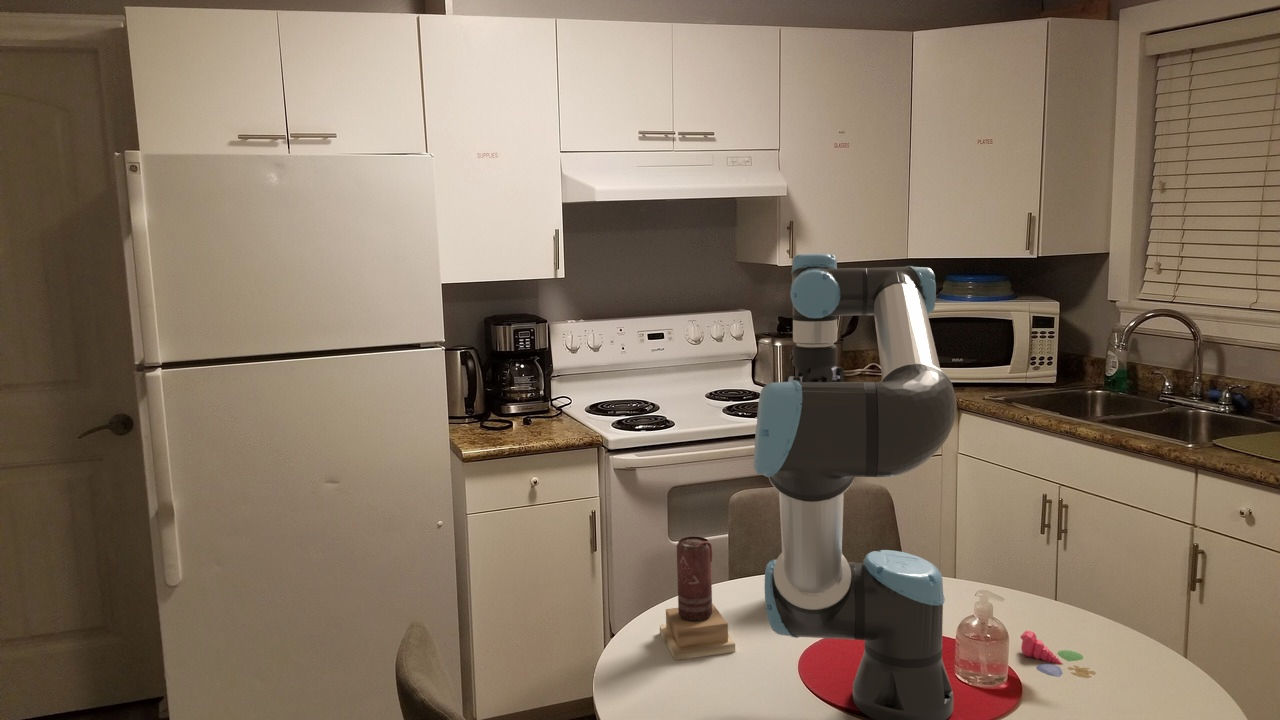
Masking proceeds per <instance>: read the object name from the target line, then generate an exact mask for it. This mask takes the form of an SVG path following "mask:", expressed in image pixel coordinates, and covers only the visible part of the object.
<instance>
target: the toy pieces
mask: <svg viewBox="0 0 1280 720" xmlns="http://www.w3.org/2000/svg"><path fill="white" fill-rule="evenodd" d="M1020 639H1021V640H1022V641H1021V642H1022V643H1021V648H1020V649H1021V652H1022V654H1023V655H1024V656H1026V657H1027V658H1034V659H1036V660H1042V661H1043V662H1044V661H1045V662H1048V663H1040V664H1037V666H1035V669H1036V670H1037V671H1038V672H1040V673H1043V674H1045V675H1047V676H1052V677H1057V678H1060V677H1061V676H1062V675H1063V674H1064V673H1063V669H1062V668H1060V666H1058V665H1064V663H1062V661H1061V660H1059V658H1058V657H1056V656H1057V655H1058V656H1059V657H1060V658H1061V659H1064V660H1065V661H1067V662H1078V661H1081V660H1084V655H1082V654H1081V653H1078V652H1077V651H1073V650H1067V649H1066V650H1065V649H1062V650H1059V651H1058V652H1057V653H1056V654H1054V652H1052V651H1050V649H1049V647H1048V646H1046V645H1045V644H1044V642H1043V641H1042V640H1041V639H1037V634H1036V633H1035V632H1034V631H1031V630H1025V631H1024V632H1023V633H1022V634H1021V635H1020ZM1051 663H1052V664H1051ZM1055 664H1056V665H1055ZM1057 664H1058V665H1057ZM1072 666H1073V667H1071V666H1069V667H1067V670H1069V671H1072V672H1070V674H1071V675H1073V676H1076V677H1079V678H1085V679H1090V678H1093V676H1095V675H1096V671H1095V670H1090V669H1091V668H1090V667H1080V666H1078V665H1075V664H1074V665H1072ZM1073 671H1074V672H1073ZM1092 675H1093V676H1092Z"/></svg>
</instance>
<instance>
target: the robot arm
mask: <svg viewBox="0 0 1280 720" xmlns="http://www.w3.org/2000/svg"><path fill="white" fill-rule="evenodd" d="M791 266H792V267H791V268H792V269H791V278H792V279H791V281H792V282H791V285H790V291H789V292H790V293H789V294H790V301H791V302H792V341H793V342H794V343H795V344H794V345H793V346H792V365H793V367H795V368H796V369H797V374H796V376H792V375H786V376H785V378H784V381H781V382H779V381H778V382H770V383H767V384H766V385H764V386H763V388H762V389H761V390H760V393H759V398H758V406H757V415H756V426H755V434H754V435H755V436H754V437H755V438H754V450H753V451H754V452H753V469H754V471H755V473H756V474H758V475H760V476H764V477H767V478H768V479H769V482H770V484H771V485H772V486H773V487H774V489H776V490H777V491H778V497H779V515H780V518H779V519H780V535H781V536H780V537H781V552H780V554H779V555H778V557H777V558H775V559H771V560H769V561H768V562H767V564H766V566H765V571H764V602H765V604H766V606H765V608H766V609H765V610H766V616H767V621H768V624H769V626H770V628H771V630H772V631H773V633H775V634H776V635H780V636H787V637H791V638H796V639H797V638H812V639H813V638H815V639H816V638H817V639H834V640H835V639H836V640H837V639H838V640H858V641H864V648H863V649H864V650H863V655H862V657H861V661H860V663H859V664H858V667H857V671H856V674H855V676H854V679H853V682H852V700H853V703H854V705H855V707H856V708H857V709H858V710H859V711H860V712H861V713H862V714H864V715H865V716H867V717H869V718H870V719H873V720H948V719H949V717H951V715H952V714H953V712H954V692H953V689H952V686H951V682H950V679H949V677H948V673H947V670H946V667H945V664H944V661H943V624H944V623H943V620H944V619H943V618H944V617H943V616H944V615H943V613H944V611H943V610H944V603H945V601H946V599H945V596H944V581H943V576H942V574H941V571H940V569H938V567H936V566H935V564H933V563H932V562H931V561H929V560H926V559H925V558H922V557H920V556H917V555H914V554H911V553H908V552H906V551H905V552H903V551H900V550H891V549H879V550H877V551H876V550H873V551H870V552H868V553H867V554H866V555H865V557H864V559H863V562H851V561H849V562H848V560H847V558H846V557H845V556H844V554H843V551H842V550H843V547H842V546H843V526H844V525H843V524H844V522H843V521H844V519H843V518H844V493H845V492H847V490H849V488H850V487H851V485H852V484H853V483H854V481H855V478H891V477H897V476H901V475H904V474H906V473H909V472H911V471H914V470H916V469H918V468H919V467H920V466H922V465H923V464H924V463H926V462H927V461H928V460H929V459H931V458H933V456H934V455H935V454H936V453H937V452H938V451H939V450H940V449H941V448H942V446H943V445H944V444H945V442H946V441H947V439H948V438H949V435H950V433H951V431H952V428H953V427H954V424H955V420H956V415H957V409H958V408H957V407H958V405H957V404H958V403H957V397H956V392H955V390H954V385H953V383H952V381H951V379H950V377H949V376H948V375H947V374H946V372H944V371H943V370H941V367H940V362H939V358H938V357H939V356H938V354H937V349H936V345H935V344H936V343H935V341H934V340H935V339H934V336H933V333H932V328H931V324H930V320H929V319H930V318H929V314H931V313H933V312H934V310H935V308H936V307H935V306H936V298H937V297H936V296H937V295H936V293H937V285H936V284H937V283H936V275H935V273H934V271H933V270H932V268H930V267H927V266H926V267H923V266H921V267H920V266H913V265H905V266H892V267H891V266H890V267H887V266H886V267H848V268H847V267H845V268H843V267H842V268H841V267H840V268H838V265H837V257H836V255H834V254H833V253H801V254H796V255H795V256H794V257H793V259H792V265H791ZM838 316H839V317H840V316H843V317H844V316H874V323H875V331H876V339H877V348H878V355H879V363H880V372H881V381H845V374H844V373H845V371H844V368H843V367H841V366H837V364H838V347H837V345H836V344H834V343H837V341H838Z"/></svg>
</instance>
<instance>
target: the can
mask: <svg viewBox="0 0 1280 720" xmlns="http://www.w3.org/2000/svg"><path fill="white" fill-rule="evenodd" d="M712 562H713V545H712V542H711V541H709V539H707V538H705V537H701V536H687V537H682V538H680V539H679V540H678V542H677V545H676V571H677V602H678V605H677V608H678V611H679V615H680V616H681V618H682V619H684V620H687V621H692V622H699V621H704V620H707V619H708V618H709V617H710V616H711V614H712V603H713V589H712V588H713V586H712V583H713V582H712Z"/></svg>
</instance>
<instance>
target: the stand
mask: <svg viewBox="0 0 1280 720" xmlns="http://www.w3.org/2000/svg"><path fill="white" fill-rule="evenodd" d="M659 634H660V636H661V638H662V639H663V641H664V643H665V644H666V647H667V648H668V650H669V652H670V654H671V655H672V657H673V658H674V661H678V660H679V661H680V660H685V659H694V658H701V657H707V656H715V655H723V654H729V653H735V652H736V642H735V641H734V640H733V639H732V637H731V636H730V634H729V623H728V622H727V620H726V619H725V617H724V616H723V615H722V613H720V611H719V610H718V609H717V607H716V606H715V605H714V603H713V602H712V614H711V616H710V617H709V618H708V619H707V620H704V621H699V622H692V621H687V620H684V619H682V618H681V616H680V615H679V611H678V607H672V608H666V609H665V624H662V625H659Z"/></svg>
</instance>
